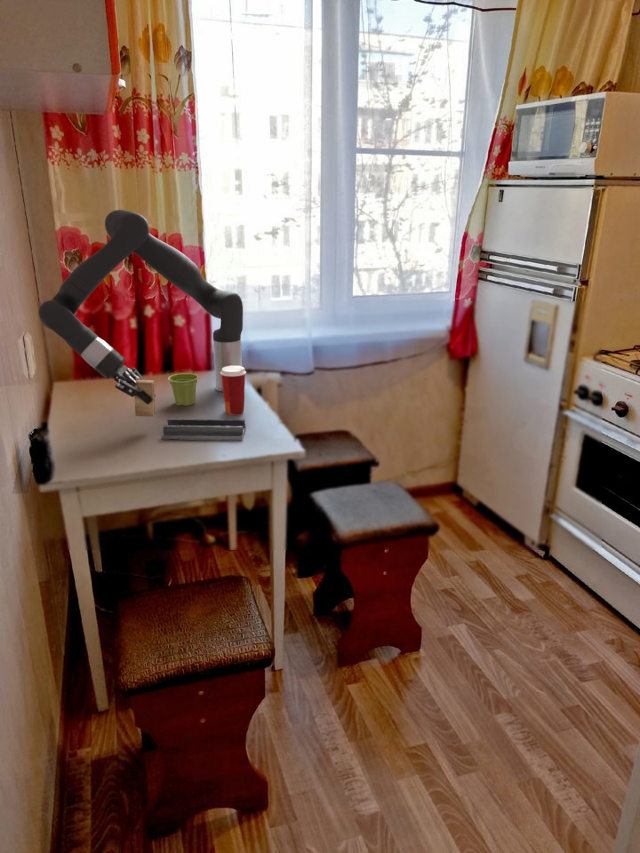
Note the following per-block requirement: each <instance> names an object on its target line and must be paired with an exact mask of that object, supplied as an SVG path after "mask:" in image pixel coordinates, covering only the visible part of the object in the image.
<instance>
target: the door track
mask: <svg viewBox="0 0 640 853" xmlns="http://www.w3.org/2000/svg"><path fill="white" fill-rule="evenodd" d="M166 420H167V425H164V424H163V426H162V435H161V440H162V439H179V440H178V441H243V439H244V435H245V432H246V429H247V423H246V418H240V419H238V418H167V419H166ZM183 439H184V440H183Z"/></svg>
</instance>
